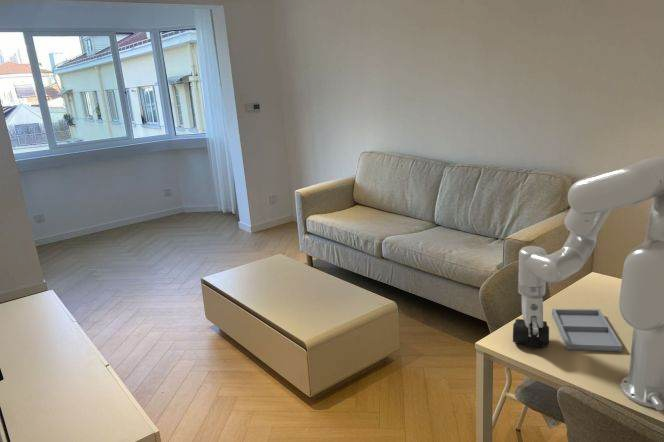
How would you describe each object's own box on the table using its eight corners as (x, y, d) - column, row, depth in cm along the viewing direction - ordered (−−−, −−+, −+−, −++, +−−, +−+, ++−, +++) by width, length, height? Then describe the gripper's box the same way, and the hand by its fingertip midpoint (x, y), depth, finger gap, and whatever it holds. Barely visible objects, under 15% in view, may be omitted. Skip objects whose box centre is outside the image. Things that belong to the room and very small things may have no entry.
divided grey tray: (621, 352, 143) (622, 346, 142) (567, 350, 146) (567, 344, 146) (599, 314, 164) (599, 309, 163) (552, 314, 167) (552, 308, 167)
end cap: (512, 347, 150) (512, 328, 148) (513, 335, 157) (513, 316, 155) (548, 351, 147) (549, 331, 145) (547, 339, 153) (548, 319, 151)
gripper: (551, 301, 137) (549, 356, 142) (540, 275, 153) (538, 325, 158) (522, 300, 139) (521, 355, 144) (514, 275, 155) (513, 325, 160)
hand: (530, 339), depth 151 cm, fingers closed on end cap, 7 cm apart
